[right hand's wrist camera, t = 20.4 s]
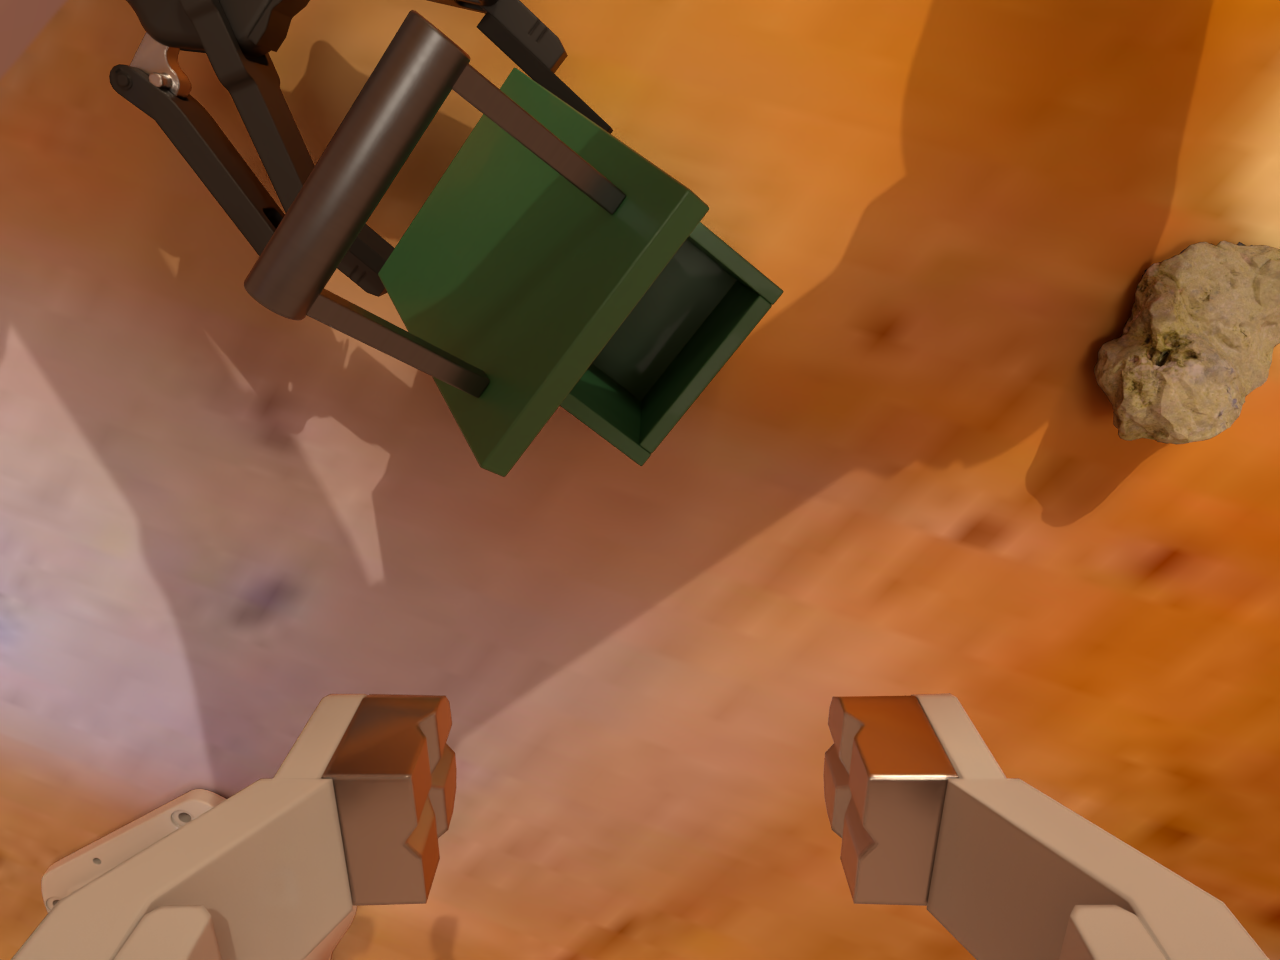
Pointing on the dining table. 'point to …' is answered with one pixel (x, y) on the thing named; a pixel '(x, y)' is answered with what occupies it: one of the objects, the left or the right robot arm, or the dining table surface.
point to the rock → (1194, 343)
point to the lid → (482, 240)
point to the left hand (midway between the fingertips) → (529, 232)
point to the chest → (671, 345)
